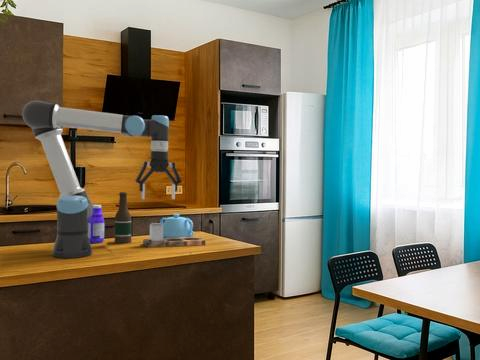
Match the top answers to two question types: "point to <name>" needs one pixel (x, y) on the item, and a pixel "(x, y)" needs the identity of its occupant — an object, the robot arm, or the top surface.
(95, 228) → the bottle
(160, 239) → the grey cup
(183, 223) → the teapot
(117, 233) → the beer bottle
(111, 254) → the top surface
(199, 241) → the brown wooden board
